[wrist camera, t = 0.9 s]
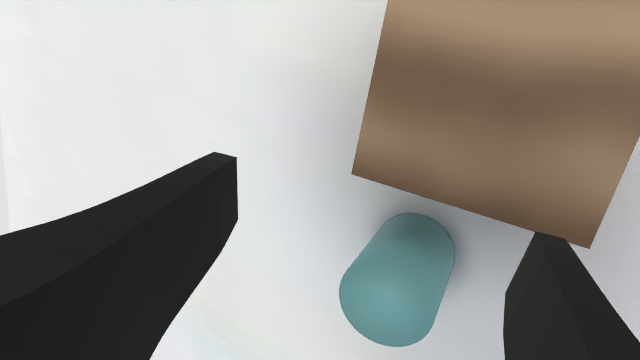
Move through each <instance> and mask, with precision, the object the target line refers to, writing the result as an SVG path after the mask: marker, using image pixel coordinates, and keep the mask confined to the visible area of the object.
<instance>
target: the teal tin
mask: <svg viewBox="0 0 640 360" xmlns="http://www.w3.org/2000/svg"><path fill="white" fill-rule="evenodd" d="M454 261H455V250H454V245H453V242H452V240H451V238H450V236H449V234H448V233H447V231H446V230H445V229H444V228H443V227H442V226H441V225H440V224H439V223H437V222H436V221H434V220H433V219H431V218H429V217H426V216H424V215H420V214H414V213H407V214H401V215H397V216H395V217H393V218H391V219H389V220H388V221H387V222H386V223H385V224H384V225H383V226H382V227H381V228H380V230H379V231H378V232H377V233H376V235H375V236H374V237H373V238H372V240H371V241H370V242H369V243H368V245H367V246H366V247H365V248H364V250H363V251H362V252H361V253H360V255H359V256H358V257H357V258H356V260H355V261H354V262H353V263H352V265H351V266H350V267H349V268H348V270H347V271H346V272H345V274H344V276H343V278H342V280H341V283H340V288H339V298H340V303H341V307H342V309H343V312H344V314H345V316H346V318H347V319H348V321H349V322H350V323H351V324H352V326H353V327H354V328H355V329H356V330H357V331H358V332H359V333H361V334H362V335H363V336H365V337H366V338H368V339H370V340H372V341H374V342H376V343H379V344H382V345H386V346H392V347H402V346H408V345H411V344H414V343H416V342H418V341H420V340H421V339H422V338H424V337H425V336H426V335H427V334H428V332H429V331H430V329H431V328H432V325H433V323H434V320H435V317H436V314H437V311H438V308H439V305H440V303H441V300H442V297H443V294H444V291H445V288H446V285H447V282H448V279H449V276H450V274H451V271H452V268H453V265H454Z"/></svg>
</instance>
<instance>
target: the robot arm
mask: <svg viewBox="0 0 640 360" xmlns="http://www.w3.org/2000/svg"><path fill="white" fill-rule="evenodd" d="M237 220H238V198H237V157H233V156H229V155H225V154H221V153H217V152H213V153H211V154H208V155H206V156H204V157H202V158H199V159H197V160H195V161H193V162H191V163H189V164H187V165H185V166H183V167H181V168H179V169H177V170H175V171H173V172H171V173H169V174H167V175H164V176H162V177H160V178H158V179H156V180H154V181H152V182H150V183H148V184H146V185H144V186H141V187H139V188H137V189H134V190H132V191H130V192H127V193H125V194H123V195H120V196H118V197H116V198H113V199H111V200H109V201H106V202H104V203H102V204H99V205H97V206H94V207H91V208H89V209H86V210H83V211H81V212H78V213H75V214H72V215H69V216H66V217H63V218H60V219H57V220H54V221H51V222H48V223H44V224H40V225H37V226H33V227H30V228H26V229H22V230H19V231H15V232H12V233H8V234H4V235H1V236H0V360H149V359H150V358H151V356H152V354H153V352H154V350H155V349H156V347H157V345H158V343H159V342H160V340H161V338H162V336H163V335H164V333H165V332H166V330H167V329H168V327H169V325H170V324H171V322H172V321H173V319H174V318H175V316H176V315H177V314H178V312H179V311H180V309H181V308H182V307H183V305H184V304H185V302H186V301H187V300H188V298H189V297H190V295H191V294H192V293H193V291H194V290H195V288H196V287H197V286H198V284H199V283H200V281H201V280H202V279H203V277H204V276H205V274H206V273H207V272H208V270H209V269H210V267H211V266H212V264H213V263H214V262H215V260H216V259H217V257H218V256H219V254H220V253H221V251H222V249H223V248H224V246H225V244H226V242H227V240H228V238H229V236H230V234H231V232H232V230H233V228H234V226H235V224H236V222H237ZM503 337H504V351H505V360H640V342H639V341H638V339H637V338H636V337H635V336H634V334H633V333H632V332H631V330H630V329H629V328H628V327H627V325H626V324H625V323H624V321H623V320H622V319H621V317H620V316H619V315H618V313H617V312H616V311H615V309H614V308H613V306H612V305H611V304H610V302H609V301H608V300H607V298H606V297H605V295H604V294H603V293H602V291H601V290H600V288H599V287H598V285H597V284H596V283H595V281H594V280H593V278H592V277H591V275H590V274H589V272H588V271H587V270H586V268H585V267H584V265H583V264H582V262H581V261H580V259H579V258H578V256H577V255H576V253H575V252H574V250H573V249H572V248H571V246H570V245H569V243H568V242H567V241H566V239H565V238H561V237H557V236H553V235H549V234H545V233H541V232H537V231H536V232H535V234H534V236H533V238H532V240H531V242H530V244H529V246H528V248H527V250H526V252H525V254H524V256H523V258H522V260H521V262H520V264H519V266H518V268H517V270H516V272H515V274H514V277H513V279H512V281H511V283H510V285H509V287H508V289H507V291H506V293H505V308H504V327H503Z"/></svg>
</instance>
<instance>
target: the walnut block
mask: <svg viewBox="0 0 640 360" xmlns="http://www.w3.org/2000/svg"><path fill="white" fill-rule="evenodd" d="M639 136H640V0H388V3H387V8H386V12H385V17H384V22H383V27H382V31H381V36H380V41H379V46H378V50H377V55H376V60H375V65H374V69H373V74H372V79H371V84H370V88H369V93H368V98H367V102H366V107H365V112H364V117H363V121H362V126H361V131H360V136H359V140H358V145H357V150H356V155H355V159H354V164H353V169H352V174H353V175H356V176H359V177H362V178H365V179H369V180H372V181H375V182H378V183H381V184H385V185H388V186H391V187H394V188H397V189H400V190H404V191H407V192H410V193H413V194H416V195H420V196H423V197H426V198H429V199H432V200H435V201H439V202H442V203H445V204H448V205H451V206H455V207H458V208H461V209H464V210H467V211H470V212H474V213H477V214H480V215H483V216H486V217H489V218H493V219H496V220H499V221H502V222H505V223H509V224H512V225H515V226H518V227H521V228H524V229H528V230H531V231H534V232H536V231H537V232H541V233H545V234H549V235H553V236H557V237H561V238H565V239H566V241H567V242H569V243H572V244H575V245H579V246H582V247H585V248H588V249H589V248H590V246H591V244H592V242H593V239H594V237H595V235H596V233H597V230H598V228H599V226H600V224H601V221H602V219H603V217H604V215H605V212H606V210H607V208H608V206H609V203H610V201H611V199H612V197H613V194H614V192H615V190H616V188H617V185H618V183H619V181H620V179H621V176H622V174H623V172H624V170H625V167H626V165H627V163H628V161H629V158H630V156H631V154H632V152H633V149H634V147H635V145H636V143H637V140H638V138H639Z"/></svg>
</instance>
